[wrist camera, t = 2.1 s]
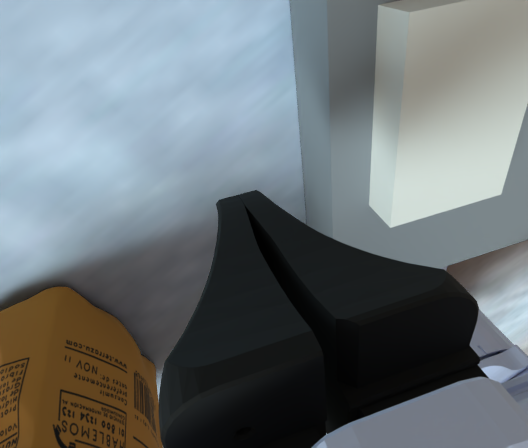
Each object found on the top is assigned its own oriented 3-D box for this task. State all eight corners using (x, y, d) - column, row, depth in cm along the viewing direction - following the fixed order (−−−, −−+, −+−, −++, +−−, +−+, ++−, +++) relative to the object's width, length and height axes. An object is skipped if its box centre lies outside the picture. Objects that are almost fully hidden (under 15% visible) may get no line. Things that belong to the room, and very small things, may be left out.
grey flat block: (488, 205, 29) (532, 238, 26) (309, 260, 27) (334, 302, 23) (613, -253, 15) (739, -303, 12) (272, -217, 13) (320, -266, 10)
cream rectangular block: (472, 175, 21) (501, 194, 19) (369, 205, 20) (390, 227, 18) (518, -24, 15) (563, -21, 14) (378, 4, 14) (409, 12, 13)
